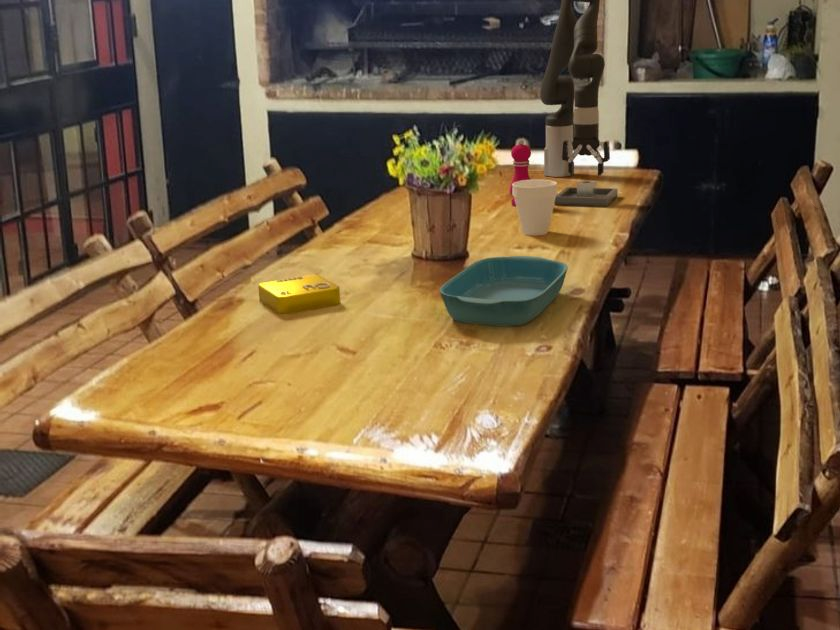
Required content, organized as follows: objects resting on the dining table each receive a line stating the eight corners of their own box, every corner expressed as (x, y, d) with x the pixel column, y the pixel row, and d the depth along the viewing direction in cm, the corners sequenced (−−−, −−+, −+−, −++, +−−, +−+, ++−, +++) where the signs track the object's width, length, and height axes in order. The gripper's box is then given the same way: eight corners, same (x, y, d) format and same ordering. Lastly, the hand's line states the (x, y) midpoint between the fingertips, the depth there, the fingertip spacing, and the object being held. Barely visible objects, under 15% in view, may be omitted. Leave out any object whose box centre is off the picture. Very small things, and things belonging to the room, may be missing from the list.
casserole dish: (530, 337, 231) (529, 303, 229) (426, 328, 239) (425, 295, 237) (578, 288, 263) (578, 258, 261) (485, 282, 272) (484, 252, 270)
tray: (554, 205, 352) (554, 196, 351) (567, 194, 366) (567, 187, 365) (606, 206, 346) (606, 198, 346) (617, 196, 361) (617, 188, 360)
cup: (555, 238, 311) (555, 187, 307) (510, 237, 313) (509, 187, 309) (559, 227, 322) (559, 179, 318) (515, 227, 325) (514, 179, 321)
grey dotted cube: (576, 199, 355) (576, 183, 353) (580, 196, 359) (580, 180, 358) (593, 200, 353) (593, 183, 352) (596, 196, 357) (596, 180, 356)
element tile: (317, 291, 271) (316, 271, 269) (343, 306, 258) (342, 285, 256) (256, 301, 264) (255, 281, 263) (280, 317, 251) (278, 296, 250)
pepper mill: (505, 204, 356) (504, 139, 350) (526, 201, 359) (525, 136, 353) (517, 208, 350) (516, 141, 344) (538, 205, 353) (537, 139, 347)
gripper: (612, 120, 350) (611, 173, 355) (566, 119, 355) (565, 171, 360) (606, 123, 343) (606, 178, 348) (559, 123, 348) (559, 176, 353)
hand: (585, 174), depth 354 cm, fingers open, 8 cm apart
